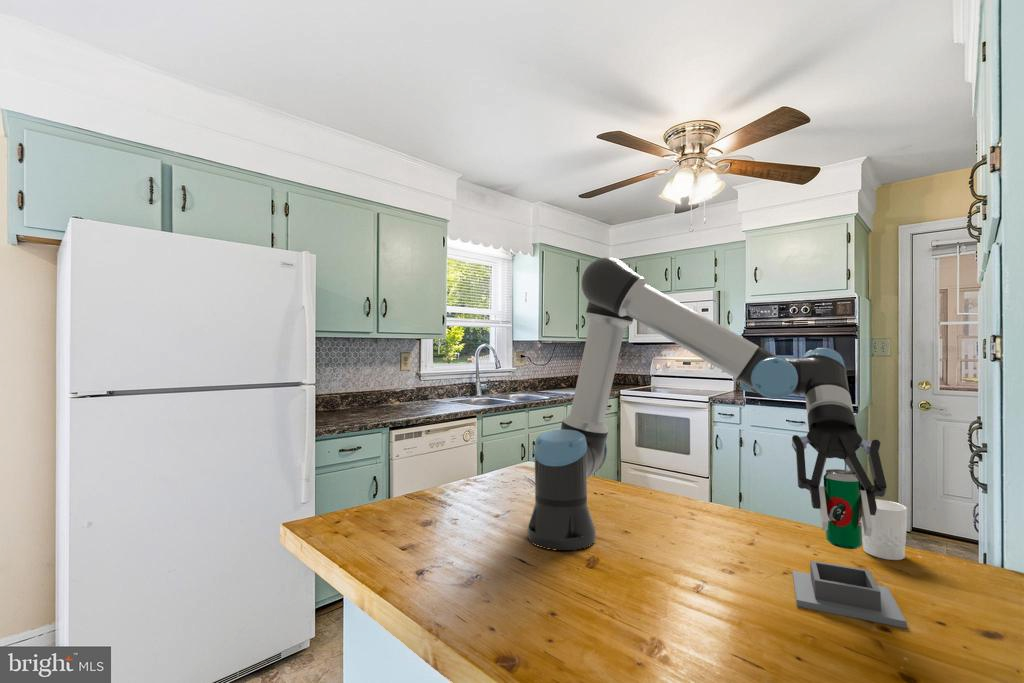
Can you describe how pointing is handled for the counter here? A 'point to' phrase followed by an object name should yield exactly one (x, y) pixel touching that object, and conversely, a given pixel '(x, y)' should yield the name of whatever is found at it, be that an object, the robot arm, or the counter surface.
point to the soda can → (843, 508)
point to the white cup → (887, 531)
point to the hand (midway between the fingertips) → (846, 528)
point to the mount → (846, 593)
